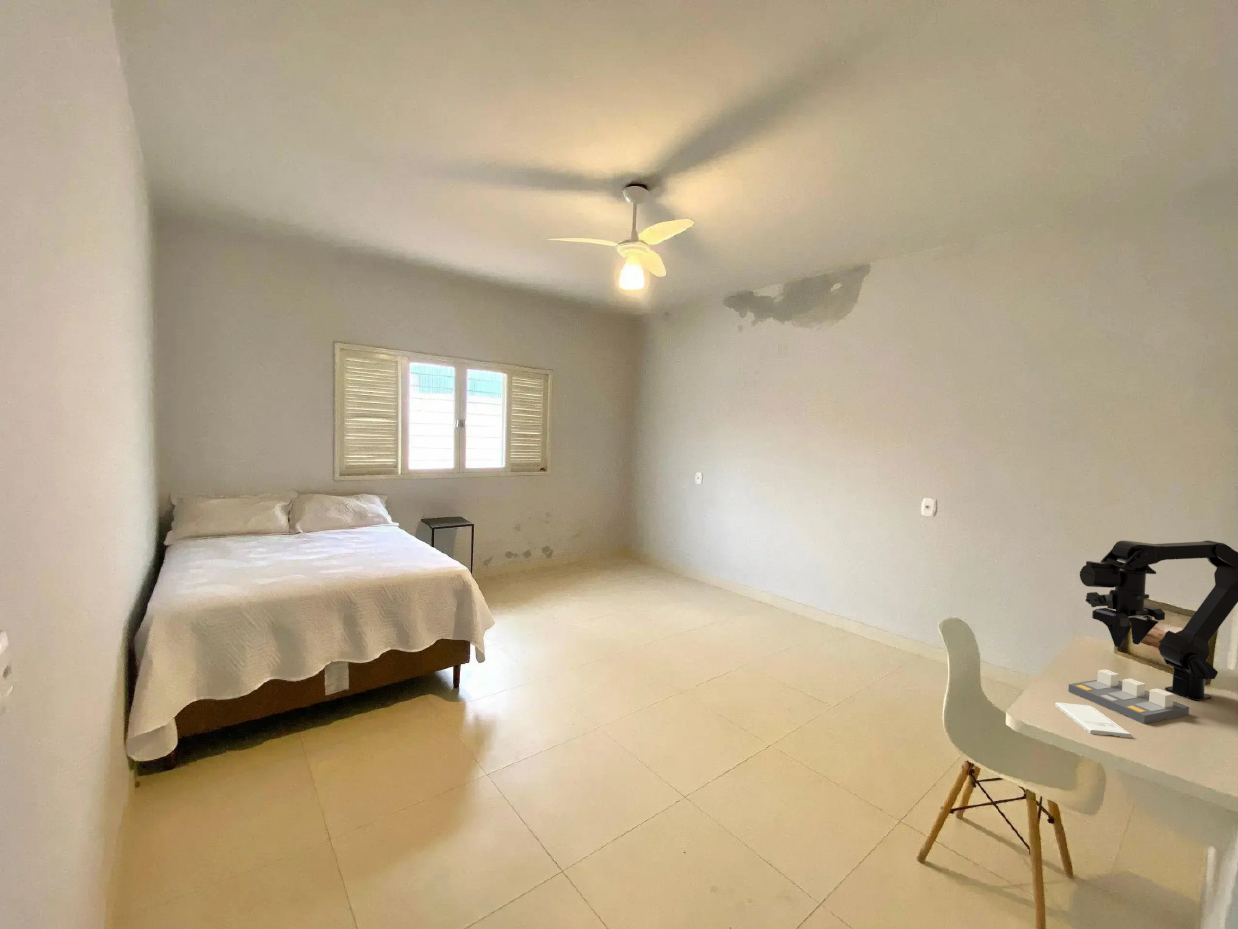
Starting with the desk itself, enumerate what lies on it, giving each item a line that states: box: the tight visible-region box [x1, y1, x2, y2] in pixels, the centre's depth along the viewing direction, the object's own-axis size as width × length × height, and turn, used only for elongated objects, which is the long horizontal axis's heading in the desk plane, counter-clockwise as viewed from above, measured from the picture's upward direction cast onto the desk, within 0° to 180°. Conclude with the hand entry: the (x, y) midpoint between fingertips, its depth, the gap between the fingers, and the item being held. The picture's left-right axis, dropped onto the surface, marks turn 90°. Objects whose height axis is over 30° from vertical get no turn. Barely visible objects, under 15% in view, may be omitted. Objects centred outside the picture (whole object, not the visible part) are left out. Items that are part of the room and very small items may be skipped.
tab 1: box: [1096, 668, 1120, 686], centre depth 136 cm, size 3×3×3 cm
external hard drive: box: [1054, 702, 1133, 739], centre depth 121 cm, size 2×8×12 cm
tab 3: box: [1149, 688, 1175, 708], centre depth 125 cm, size 3×3×3 cm
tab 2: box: [1122, 678, 1146, 697], centre depth 131 cm, size 3×3×3 cm
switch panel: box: [1068, 679, 1190, 724], centre depth 130 cm, size 16×16×2 cm
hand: (1126, 645), depth 137 cm, fingers open, 7 cm apart
